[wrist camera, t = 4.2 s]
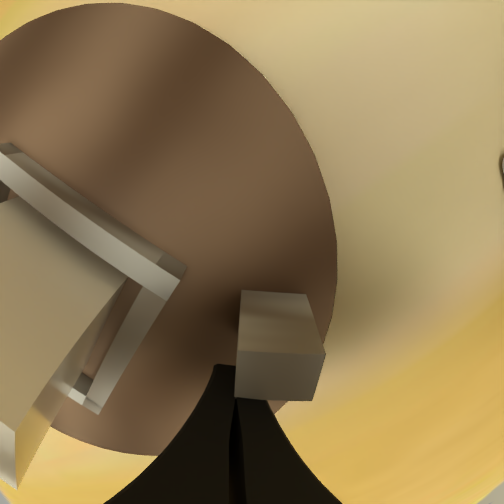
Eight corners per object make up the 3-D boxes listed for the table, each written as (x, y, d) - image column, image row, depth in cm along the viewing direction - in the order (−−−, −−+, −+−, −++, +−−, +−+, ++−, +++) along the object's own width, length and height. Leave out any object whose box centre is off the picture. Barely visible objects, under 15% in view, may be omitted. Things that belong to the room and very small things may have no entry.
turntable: (428, 211, 10) (507, 252, 6) (175, 470, 16) (164, 527, 11) (30, -24, 6) (-28, -53, 2) (-66, 299, 12) (-104, 330, 8)
